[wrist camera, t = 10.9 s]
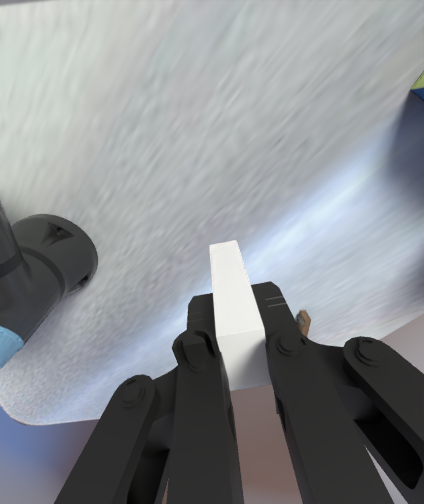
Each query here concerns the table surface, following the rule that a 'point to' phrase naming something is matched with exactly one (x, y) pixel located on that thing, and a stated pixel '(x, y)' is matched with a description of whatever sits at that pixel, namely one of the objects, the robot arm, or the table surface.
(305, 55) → the table surface
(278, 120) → the table surface
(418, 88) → the protein box
